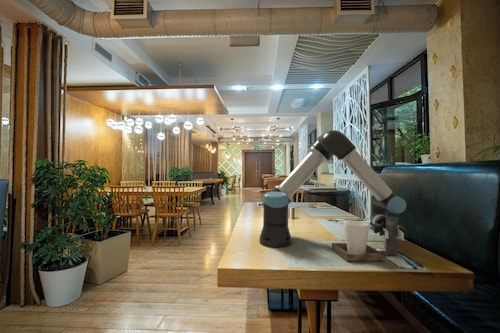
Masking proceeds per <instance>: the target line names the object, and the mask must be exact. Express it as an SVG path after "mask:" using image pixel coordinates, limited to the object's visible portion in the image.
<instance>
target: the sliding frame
mask: <svg viewBox="0 0 500 333" xmlns="http://www.w3.org/2000/svg"><path fill="white" fill-rule="evenodd" d="M398 219H399V218H398V217H395V216H387V217H386V230H387V231H388V239H386V238H385V249H384V250H377V248H374V247H372V246H371V245H369V244H367V245H366V251H365V253H348V251H347V243H346V242H331V250H333V252H335V253H336V254H337V255H339V256H340V257H341V258H343V259H344V260H345V261H346V262H382V261H383V262H385V255H386V256H388V255H389V256H398V251H399V250H398V247H399V245H398V243H399V242H398V239H399V237H398V225H399V224H398V222H399V220H398Z"/></svg>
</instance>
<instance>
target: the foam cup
mask: <svg viewBox="0 0 500 333" xmlns="http://www.w3.org/2000/svg"><path fill="white" fill-rule="evenodd" d="M343 229H344V235H345V243H347V250H346V252H347V253H366V245H368V244H367V242H368V239H369V238H368V237H369V231H370V223H369V222H366V221H359V220H345V221H343Z"/></svg>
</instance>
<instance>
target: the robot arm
mask: <svg viewBox="0 0 500 333" xmlns="http://www.w3.org/2000/svg"><path fill="white" fill-rule="evenodd" d="M309 147H310V148H309V153H308V154H307V155H306V156H305V157H304V158H303V159H302V160H301V162H300V163H299V164H298V165H297V166H296V167H295V168H294V169H293V170H292V171H291V172H290V174H288V176H287V177H286V178H284V180H283V181H282V182H281V183H280V184H279V185H275V186H274V187H273V188H272V189H271V190H270V191H268V192H265V193H264V194H263V198H262V207H263V215H262V216H263V220H262V221H263V222H262V223H263V224H262V225H263V226H262V229H261V233H260V235H259V243H260V245H262V246H265V247H269V248H270V247H271V248H285V247H288V246H291V245H292V244H293V243H292V241H293V239H292V238H293V237H292V236H291V235H292V234H291V232H290V228H289V206H290V204H291V203H292V201H293V196H294V195H295V194H296V193H297V192H298V190H299V189H300V188H301V187H302V186H303V185H304V184H305V183H306V182H307V180H308V179H309V178H310V177H311V176H312V175H313V174H314V172H316V171H317V170H318V168H320V167H321V165H322V164H323V163H324V164H325V163H328V162H329V160H331V159H332V158H333V156H334V157H335V158H336V159H337V160H338V161H340V162H341V161H342V162H343V163H344V164H345V166H346V167H347V168H348V169H349V170H350V171H351V172H352V173H353V174H354V175H355V177H356V178H357V179H358V180H359V181H360V182H361V183H362V184H363V185H364V186H365V188H366V189H367V190H368V191H369V192H370V206H371V208H370V215H369V220H370V222H369V230H372V231H373V233H375V234H378V233H379V236H380V237H384V238H385V240H386V239H388V231H387V230H386V217H388V212H390V213H392V214H402V213H403V212H404V211H405V210H406V208H407V202H406V200H405V199H404V198H402V197H400V196H398V195H396V194H395V193H394V191H393V190H392V189H391V188H390V186H388V185H387V184H386V183H385V181H384V180H383V179H382V178H381V177H380V176H379V175H378V173H377V172H376V171H375V170H374V169H373V167H371V166H370V164H369V163H368V162H367V161H366V160H365V159H364V158H363V157H362V156H361V154H360V153H359V152H358V151H357V146H356V145H355V144H354V143H353V142H352V141H351V140H350V139H349V138H348V136H346V135H345V134H344V133H342V132H341V131H339V130H336V129H335V130H334V129H333V130H328V131H327V132H325V133H323V134H321V135H319V136H318V137H317V138H316V139H315V142H314V143H313V144H312V145H311V146H309ZM407 234H408V232H407V229H406V228H405V227H404V226H403V225H402V224H400V225H399V224H398V239H400V240H401V241H404V238H405V237H406V236H407Z"/></svg>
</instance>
